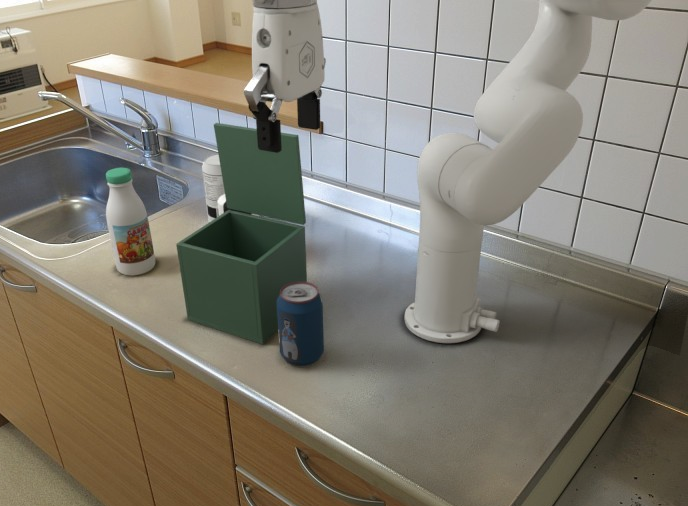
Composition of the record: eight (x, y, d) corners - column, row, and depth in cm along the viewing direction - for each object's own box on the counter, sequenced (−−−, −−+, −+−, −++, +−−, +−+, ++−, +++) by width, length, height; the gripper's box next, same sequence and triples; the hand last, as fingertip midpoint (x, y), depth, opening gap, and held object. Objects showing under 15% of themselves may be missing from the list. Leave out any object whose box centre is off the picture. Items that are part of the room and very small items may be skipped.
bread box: (262, 344, 109) (256, 264, 101) (187, 320, 116) (175, 243, 108) (307, 301, 119) (305, 226, 111) (236, 281, 126) (228, 209, 118)
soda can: (323, 342, 108) (322, 278, 102) (324, 369, 102) (323, 303, 96) (281, 343, 109) (276, 279, 102) (279, 370, 103) (274, 304, 96)
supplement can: (205, 219, 150) (197, 155, 142) (241, 213, 152) (235, 149, 144) (213, 234, 143) (205, 168, 135) (250, 228, 145) (244, 162, 137)
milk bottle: (109, 273, 131) (88, 177, 120) (129, 255, 137) (110, 162, 127) (144, 278, 129) (125, 180, 118) (162, 259, 135) (147, 165, 124)
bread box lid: (295, 137, 102) (298, 134, 102) (213, 124, 109) (216, 122, 109) (303, 225, 111) (306, 222, 111) (227, 208, 118) (229, 206, 118)
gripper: (271, 8, 70) (279, 165, 79) (347, -14, 82) (346, 123, 91) (213, 5, 73) (227, 155, 82) (295, -16, 86) (299, 117, 95)
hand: (290, 138), depth 87 cm, fingers open, 9 cm apart
